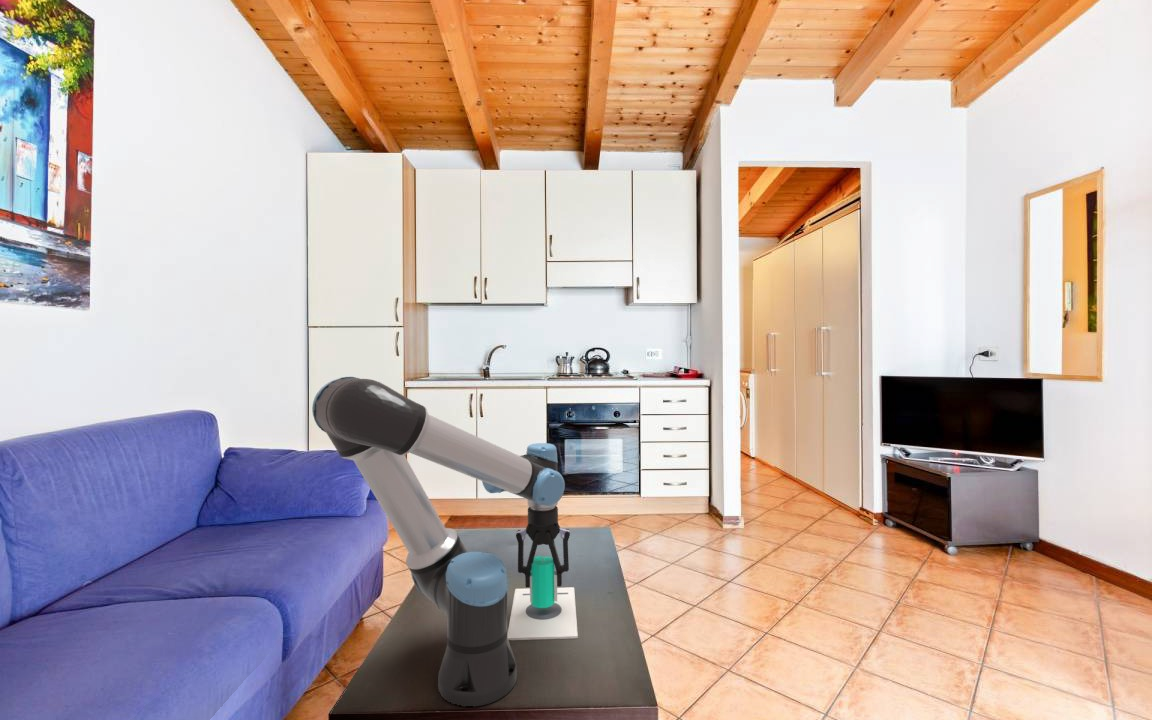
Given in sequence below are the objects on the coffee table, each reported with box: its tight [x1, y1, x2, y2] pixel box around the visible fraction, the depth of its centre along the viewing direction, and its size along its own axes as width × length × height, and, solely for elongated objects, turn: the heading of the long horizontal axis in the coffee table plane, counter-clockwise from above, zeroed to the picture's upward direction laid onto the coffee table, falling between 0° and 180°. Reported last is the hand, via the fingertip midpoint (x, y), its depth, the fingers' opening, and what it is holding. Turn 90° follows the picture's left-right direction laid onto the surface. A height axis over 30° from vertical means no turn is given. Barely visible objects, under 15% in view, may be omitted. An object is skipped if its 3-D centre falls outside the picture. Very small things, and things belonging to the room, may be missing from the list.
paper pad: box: [507, 586, 579, 641], centre depth 125 cm, size 24×16×1 cm, turn 2°
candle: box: [531, 554, 555, 608], centre depth 125 cm, size 6×6×12 cm
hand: (543, 598), depth 125 cm, fingers closed on candle, 5 cm apart
